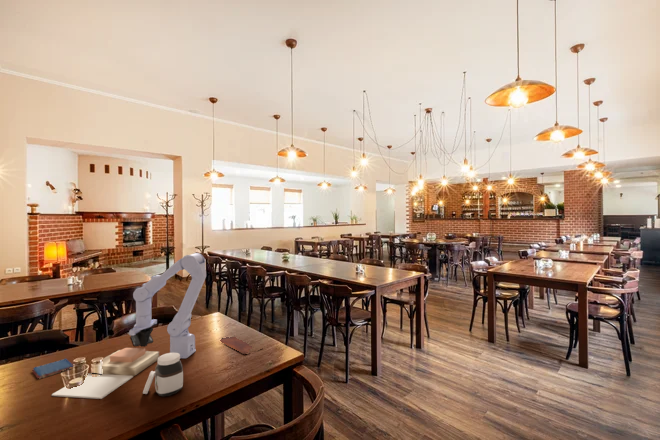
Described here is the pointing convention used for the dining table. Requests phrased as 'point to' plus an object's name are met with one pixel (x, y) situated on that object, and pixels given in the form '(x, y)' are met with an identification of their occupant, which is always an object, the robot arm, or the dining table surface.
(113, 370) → the block
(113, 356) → the tile
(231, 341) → the wooden tablet
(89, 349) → the dining table surface
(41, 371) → the woven mat
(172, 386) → the spread jar
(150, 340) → the phone
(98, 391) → the mat
